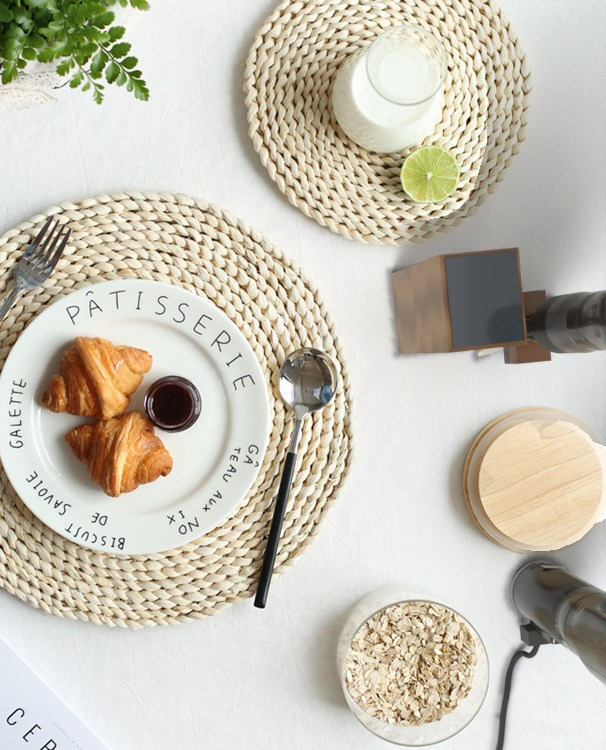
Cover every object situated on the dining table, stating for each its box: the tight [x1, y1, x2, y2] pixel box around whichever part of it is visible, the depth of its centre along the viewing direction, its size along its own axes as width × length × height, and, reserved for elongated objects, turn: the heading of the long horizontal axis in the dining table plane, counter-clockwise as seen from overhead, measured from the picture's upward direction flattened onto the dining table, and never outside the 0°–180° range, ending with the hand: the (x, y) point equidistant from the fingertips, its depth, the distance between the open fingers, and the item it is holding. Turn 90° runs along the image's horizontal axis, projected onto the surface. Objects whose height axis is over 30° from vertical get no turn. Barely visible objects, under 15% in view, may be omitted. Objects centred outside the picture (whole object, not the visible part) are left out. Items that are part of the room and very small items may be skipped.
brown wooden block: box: [502, 289, 552, 365], centre depth 118 cm, size 10×5×4 cm, turn 6°
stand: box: [390, 246, 528, 355], centre depth 112 cm, size 12×10×22 cm
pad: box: [444, 251, 525, 348], centre depth 101 cm, size 11×9×1 cm
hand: (519, 328), depth 120 cm, fingers closed on brown wooden block, 5 cm apart
